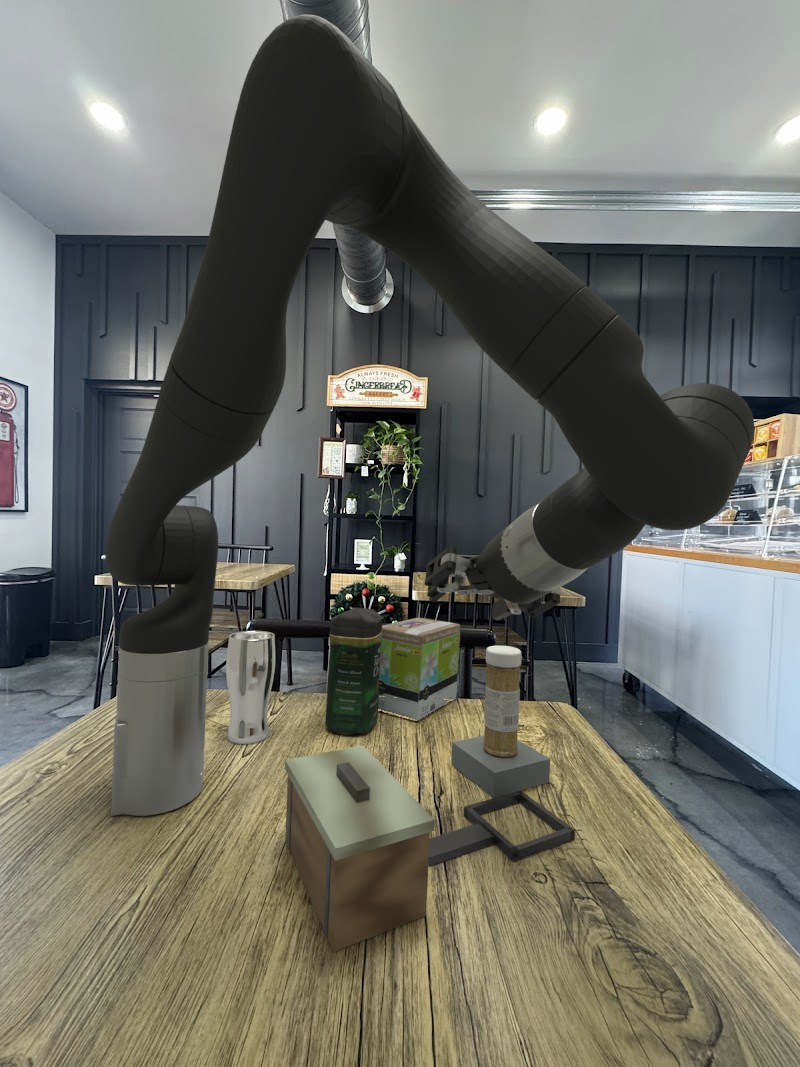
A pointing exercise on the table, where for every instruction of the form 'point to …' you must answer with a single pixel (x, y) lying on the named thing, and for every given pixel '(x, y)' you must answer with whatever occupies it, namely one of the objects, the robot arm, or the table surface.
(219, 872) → the table surface
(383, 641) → the tea box
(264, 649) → the beer glass
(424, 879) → the toolbox
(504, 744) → the sprinkles bottle
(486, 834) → the square frame with handle
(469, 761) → the gray rectangular block
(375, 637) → the coffee jar
